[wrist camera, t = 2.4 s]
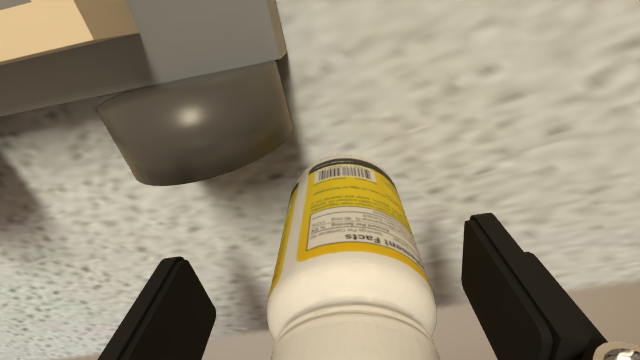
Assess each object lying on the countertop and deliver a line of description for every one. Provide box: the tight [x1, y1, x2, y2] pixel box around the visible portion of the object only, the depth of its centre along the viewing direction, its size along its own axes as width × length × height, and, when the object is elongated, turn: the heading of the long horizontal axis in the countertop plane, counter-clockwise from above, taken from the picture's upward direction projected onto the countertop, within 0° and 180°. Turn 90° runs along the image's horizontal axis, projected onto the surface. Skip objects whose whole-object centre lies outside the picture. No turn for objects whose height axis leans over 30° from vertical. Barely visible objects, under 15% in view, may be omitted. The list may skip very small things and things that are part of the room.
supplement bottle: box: [267, 155, 440, 360], centre depth 10 cm, size 5×5×8 cm
